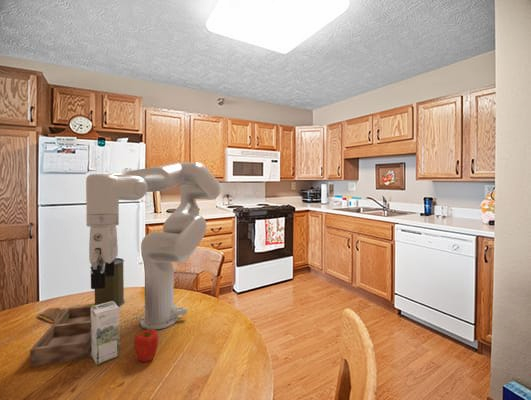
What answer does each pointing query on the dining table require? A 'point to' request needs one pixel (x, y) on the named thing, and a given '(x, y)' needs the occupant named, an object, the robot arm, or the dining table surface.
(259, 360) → the dining table surface
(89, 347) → the tray
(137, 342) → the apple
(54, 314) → the shard
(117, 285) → the canister
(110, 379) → the dining table surface
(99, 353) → the syrup box
